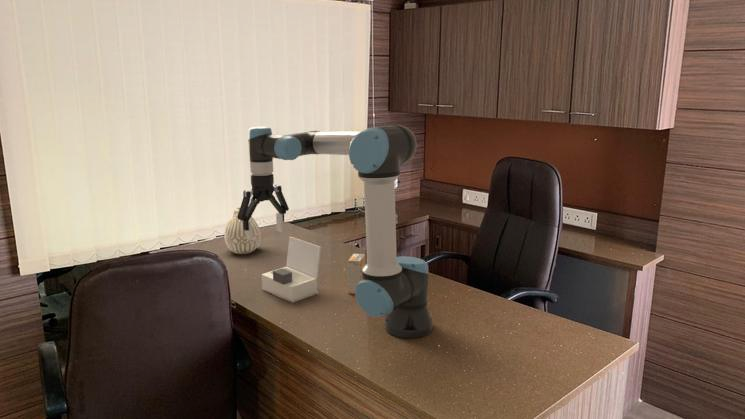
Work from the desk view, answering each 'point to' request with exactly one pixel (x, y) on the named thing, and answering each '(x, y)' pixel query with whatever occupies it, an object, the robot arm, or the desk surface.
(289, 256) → the cover
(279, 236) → the desk surface
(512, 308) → the desk surface
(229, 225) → the vase
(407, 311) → the robot arm
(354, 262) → the supplement box
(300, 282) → the open white tray
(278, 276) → the plug block
